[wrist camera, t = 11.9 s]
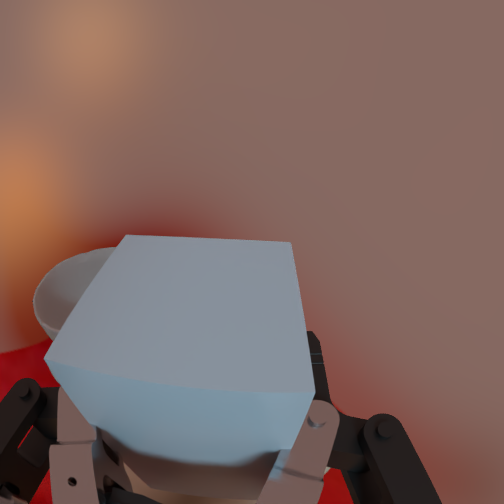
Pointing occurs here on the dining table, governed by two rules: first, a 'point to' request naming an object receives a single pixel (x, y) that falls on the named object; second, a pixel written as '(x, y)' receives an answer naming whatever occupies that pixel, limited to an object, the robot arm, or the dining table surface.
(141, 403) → the pale blue tall cuboid
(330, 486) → the dining table surface
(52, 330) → the teacup
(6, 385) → the dining table surface
